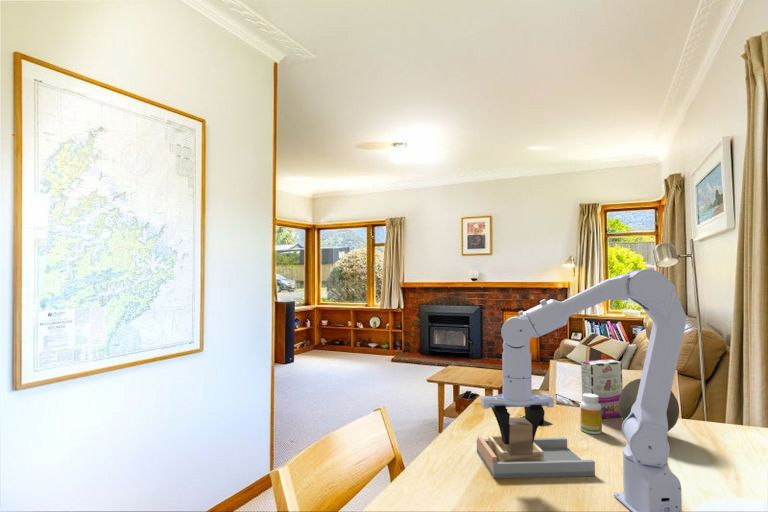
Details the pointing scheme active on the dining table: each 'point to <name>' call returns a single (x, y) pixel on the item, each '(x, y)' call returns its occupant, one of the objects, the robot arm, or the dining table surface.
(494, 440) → the crate
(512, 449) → the walnut block
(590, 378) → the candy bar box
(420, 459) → the dining table surface
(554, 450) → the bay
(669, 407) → the dark grey ball
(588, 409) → the supplement bottle
